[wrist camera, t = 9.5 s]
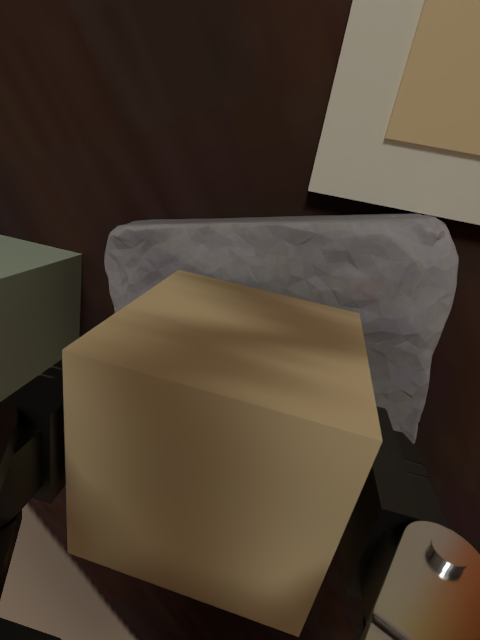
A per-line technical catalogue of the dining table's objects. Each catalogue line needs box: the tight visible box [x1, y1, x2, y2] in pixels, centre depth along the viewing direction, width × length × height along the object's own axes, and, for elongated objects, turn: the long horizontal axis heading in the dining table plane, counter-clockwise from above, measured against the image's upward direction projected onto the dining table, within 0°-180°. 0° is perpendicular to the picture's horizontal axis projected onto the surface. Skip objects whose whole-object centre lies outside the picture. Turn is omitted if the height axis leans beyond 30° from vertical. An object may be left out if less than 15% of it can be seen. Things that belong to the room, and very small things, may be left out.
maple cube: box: [62, 270, 383, 637], centre depth 10 cm, size 6×6×6 cm
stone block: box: [104, 213, 458, 444], centre depth 15 cm, size 12×5×10 cm
